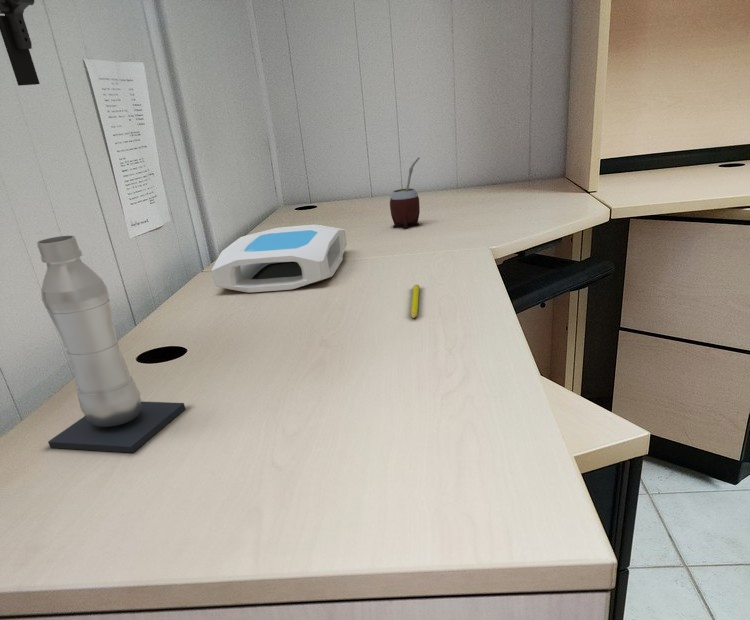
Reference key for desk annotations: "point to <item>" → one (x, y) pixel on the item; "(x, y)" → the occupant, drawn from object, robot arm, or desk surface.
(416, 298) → the pencil
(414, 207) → the mate gourd
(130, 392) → the plastic bottle
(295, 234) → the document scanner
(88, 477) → the desk surface
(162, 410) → the coaster
